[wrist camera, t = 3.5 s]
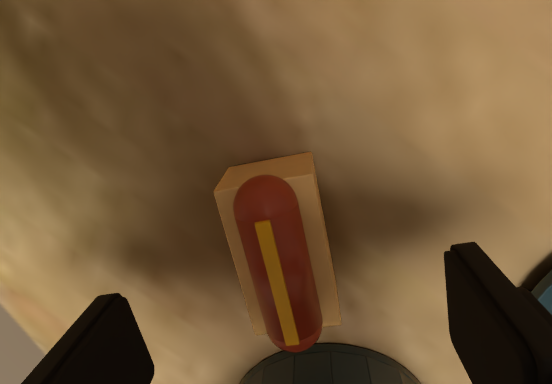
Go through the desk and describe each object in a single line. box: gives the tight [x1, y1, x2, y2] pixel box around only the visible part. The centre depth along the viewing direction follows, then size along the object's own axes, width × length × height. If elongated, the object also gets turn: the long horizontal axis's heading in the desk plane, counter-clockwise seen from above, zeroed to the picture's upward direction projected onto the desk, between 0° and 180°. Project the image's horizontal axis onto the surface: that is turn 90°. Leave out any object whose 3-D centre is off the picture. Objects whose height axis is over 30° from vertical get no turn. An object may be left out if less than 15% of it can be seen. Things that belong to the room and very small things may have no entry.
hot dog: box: [213, 152, 341, 352], centre depth 13 cm, size 6×3×4 cm, turn 12°
